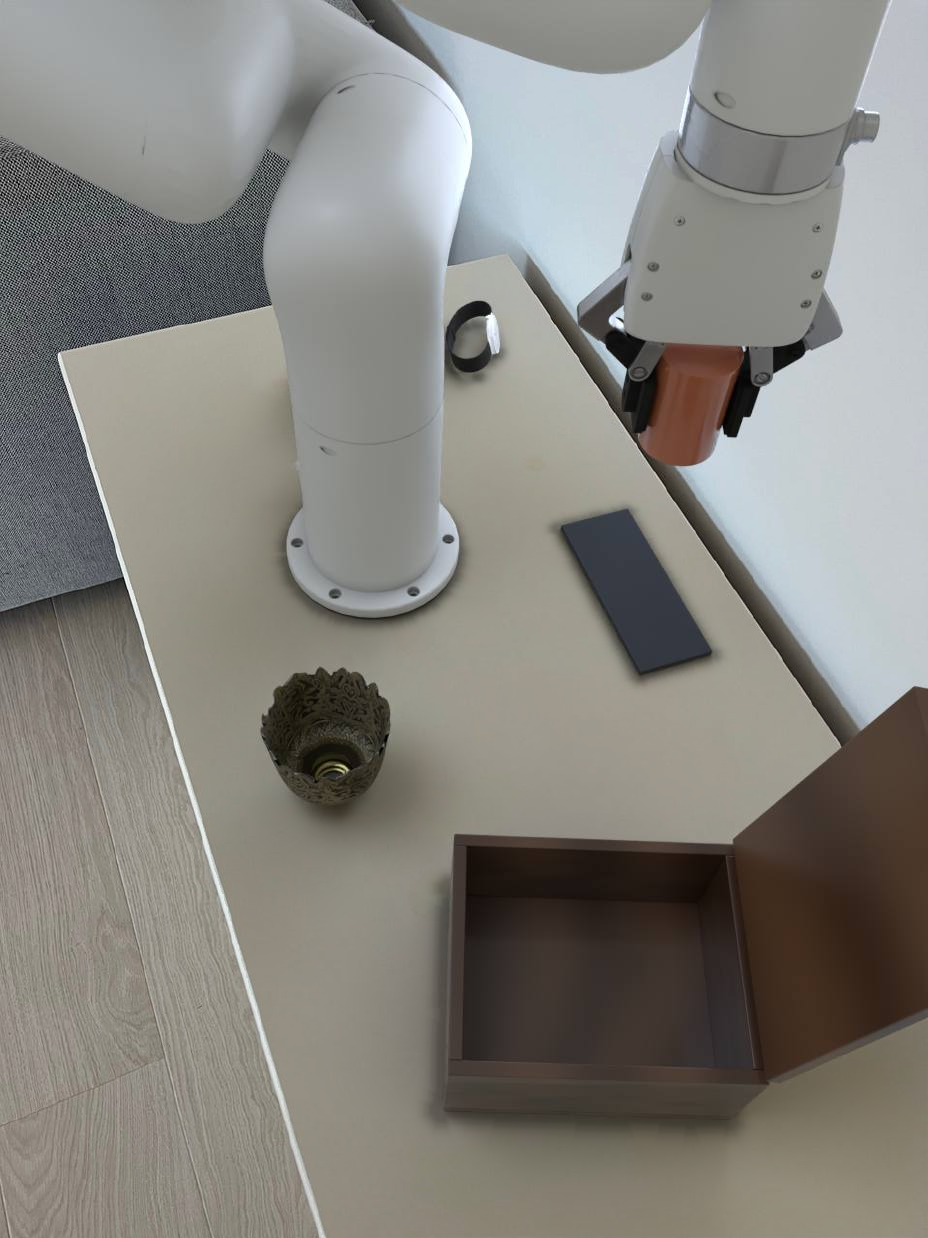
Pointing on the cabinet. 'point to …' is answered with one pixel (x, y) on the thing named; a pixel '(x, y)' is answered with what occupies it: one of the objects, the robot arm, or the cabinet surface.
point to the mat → (635, 591)
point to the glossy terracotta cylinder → (690, 401)
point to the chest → (598, 979)
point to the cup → (327, 734)
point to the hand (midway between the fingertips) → (682, 416)
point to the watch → (493, 343)
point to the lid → (841, 897)
